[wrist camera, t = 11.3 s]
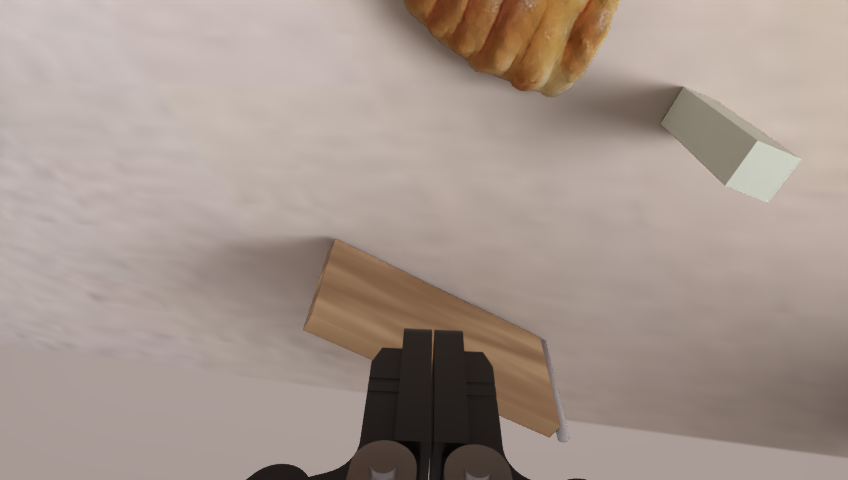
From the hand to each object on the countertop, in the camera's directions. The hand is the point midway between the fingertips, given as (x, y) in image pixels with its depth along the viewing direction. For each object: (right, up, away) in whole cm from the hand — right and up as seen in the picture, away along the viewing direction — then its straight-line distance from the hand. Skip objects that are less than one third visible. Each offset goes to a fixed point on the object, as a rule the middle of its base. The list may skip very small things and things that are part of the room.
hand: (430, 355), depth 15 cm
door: (0, -1, +20) cm, 20 cm away
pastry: (+4, +14, +12) cm, 19 cm away
